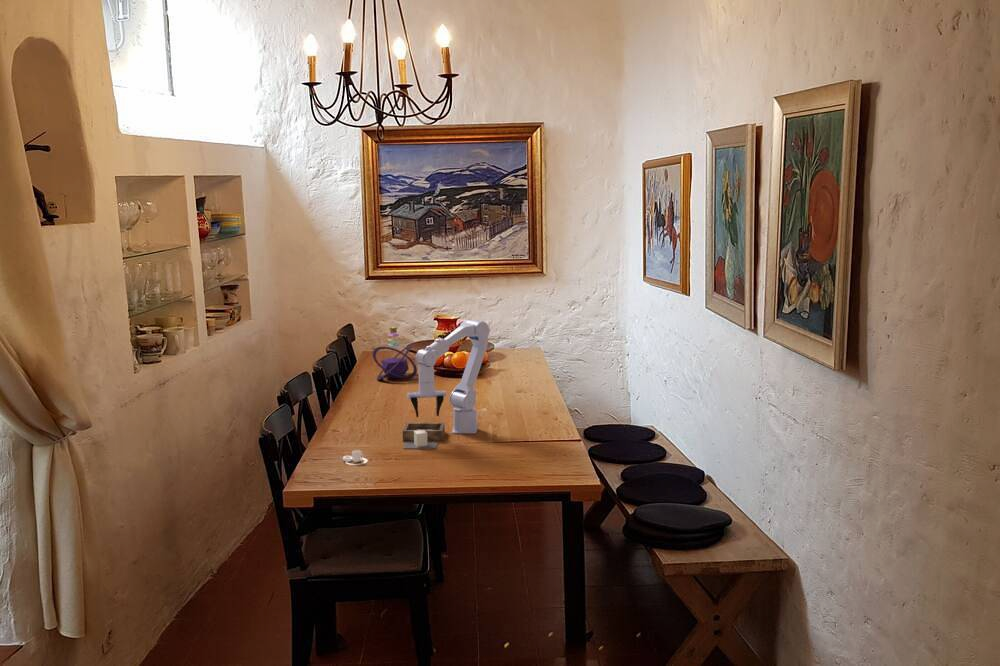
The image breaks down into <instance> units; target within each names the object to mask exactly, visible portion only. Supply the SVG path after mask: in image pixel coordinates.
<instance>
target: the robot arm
mask: <svg viewBox="0 0 1000 666" xmlns="http://www.w3.org/2000/svg"><path fill="white" fill-rule="evenodd" d="M490 332H491V329H490V326H489V325H488V323H487V322H486V321H480V320H475V319H471V318H467V319H465V320H464V321H463V322H460V325H459V326H458V327H457V328H456V329H454V330H453V331H452V332H450V334H449V335H447V336H446V337H445V338H441V337H440V338H436V339H435V340H434V342H433V343H431V344H429V345H426V347H425V348H423V349H422V348H421V349H419V350H417V352H416V353H415V354H416V355H415V356H414V361H415V362H416V364H417V368H418V369H417V372H418V391H413V392H407V393H406V394H407V400H410V402H411V404H412V406H413V409H414V411H415V417H416V418H419V407H418V406H419V405H418V403H419V402H418V399H425V398H435V401H436V404H435V405H436V407H435V409H436V410H435V413H436V416H437V417H439V416H440V410H441V407H442V404H443V402H444V399H445V398H447V391H446V390H435V371H434V369H435V368H434V366H435V364H436V362H437V361H438V359H439V358H440V357H441V356H443V355H444V354H446V353H447V352H449V350H450V346H452V345H453V344H455V343H457V342H458V341H460V340H461V339H463V338H464V337H465V338H466V337H467V338H468V339H469V340H470V342H471V344H472V347H471V350H470V353H469V356H468V358H467V362H466V365H465V368H464V371H463V374H462V377H461V380H460V381H459V382H460V383H458V384H457V385H455V386H454V389H453V390H452V391H451V393H450V395H449V397H448V398H449V400H448V401H449V403H450V405H451V406H452V409H453V427H452V432H451V433H452V434H477V433H478V428H479V422H478V409H477V408H474V407H475V406H476V397H477V394H478V393H477V391H476V390H475V385H476V382H477V378H478V375H479V373H480V369H481V366H482V364H483V361H484V357H485V354H486V352H487V348H488V344H489V335H490Z"/></svg>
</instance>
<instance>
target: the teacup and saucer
mask: <svg viewBox="0 0 1000 666" xmlns="http://www.w3.org/2000/svg"><path fill="white" fill-rule="evenodd" d="M342 460H343V461H344V462H345V464H346V465H349V466H361V465H365V464H367V463H368V461H369V460H368V458H365V457H364V454H363V453H362V451H361V450H359V449H358V450H356V449H355V450H352V451H351V455H344V456H343V457H342ZM362 460H363V462H361V461H362ZM348 462H349V463H348ZM350 462H353V463H350ZM354 463H355V464H354Z"/></svg>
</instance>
